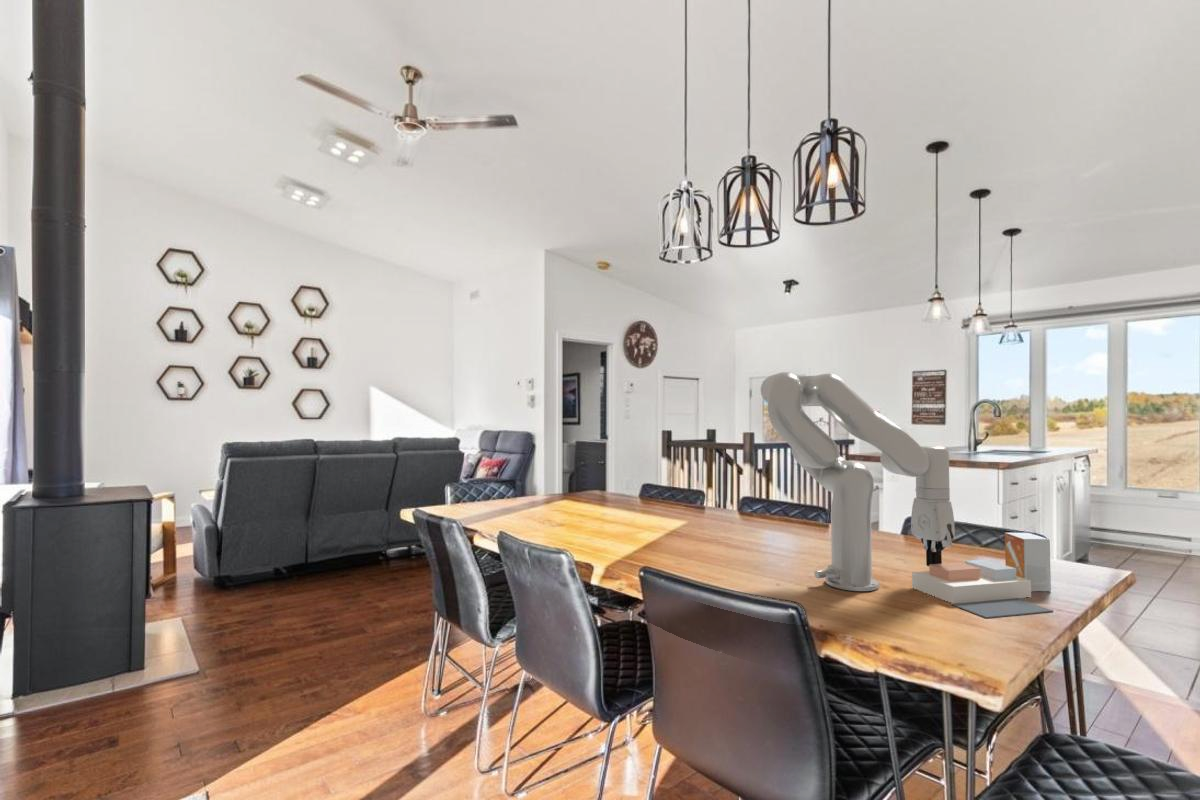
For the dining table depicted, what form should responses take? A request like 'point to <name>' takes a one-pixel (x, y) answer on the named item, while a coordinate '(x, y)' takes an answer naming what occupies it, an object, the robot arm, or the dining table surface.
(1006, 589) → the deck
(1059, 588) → the dining table surface
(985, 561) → the blue-grey tile
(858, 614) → the dining table surface
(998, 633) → the dining table surface
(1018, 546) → the small box
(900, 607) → the dining table surface
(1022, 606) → the mat
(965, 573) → the terracotta tile
